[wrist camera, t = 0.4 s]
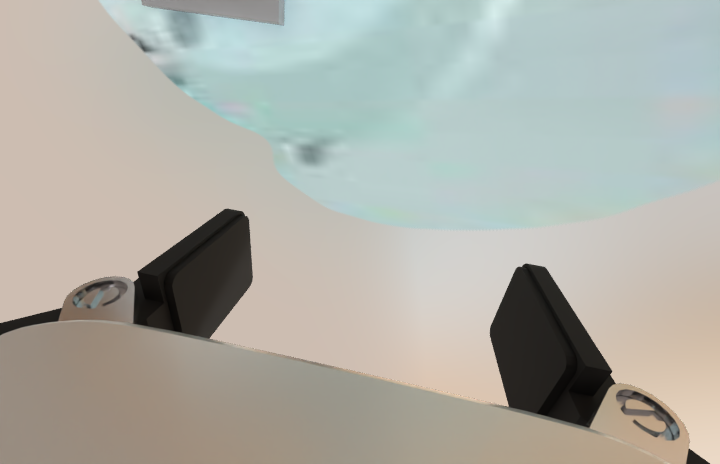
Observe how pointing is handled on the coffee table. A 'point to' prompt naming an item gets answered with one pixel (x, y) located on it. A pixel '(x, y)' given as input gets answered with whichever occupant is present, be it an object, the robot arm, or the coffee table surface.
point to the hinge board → (227, 8)
